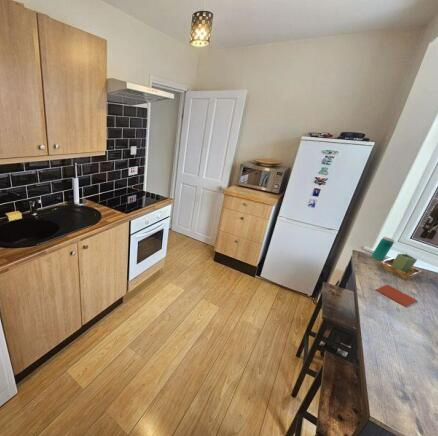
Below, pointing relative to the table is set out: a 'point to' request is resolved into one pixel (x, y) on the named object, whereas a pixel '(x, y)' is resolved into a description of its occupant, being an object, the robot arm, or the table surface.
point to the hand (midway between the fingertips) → (425, 238)
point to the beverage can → (382, 248)
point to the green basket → (403, 262)
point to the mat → (396, 295)
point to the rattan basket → (411, 274)
